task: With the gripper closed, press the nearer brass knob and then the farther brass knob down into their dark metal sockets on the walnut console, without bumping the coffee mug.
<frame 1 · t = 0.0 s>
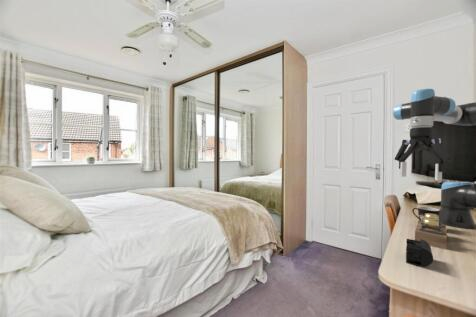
hand: (419, 178, 94), 28 cm above the table, tool pointing down, fingers open, 13 cm apart
knob 2: (431, 217, 104), point 9 cm above the table, slide at 0.0 cm
end cap: (418, 261, 80), on the table
knob 1: (431, 222, 96), point 9 cm above the table, slide at 0.0 cm
coffee mug: (425, 227, 117), on the table
console: (430, 238, 100), on the table
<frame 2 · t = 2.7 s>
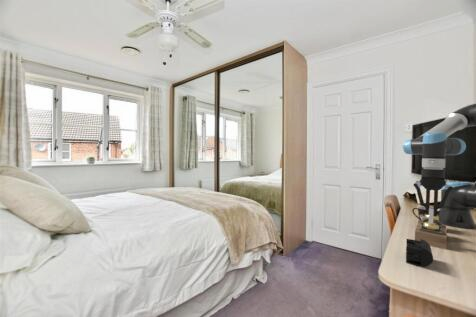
hand: (430, 223, 96), 8 cm above the table, tool pointing down, fingers closed
knob 1: (430, 226, 96), point 7 cm above the table, slide at 1.7 cm, touching gripper
everything else where it was.
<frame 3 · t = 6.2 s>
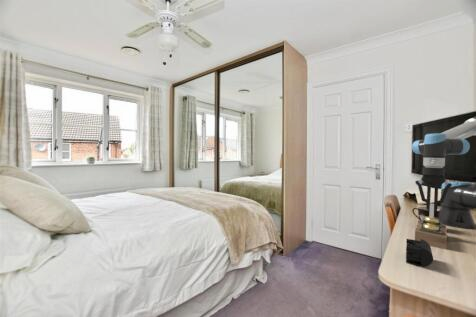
hand: (431, 217, 104), 9 cm above the table, tool pointing down, fingers closed
knob 2: (431, 220, 104), point 7 cm above the table, slide at 1.5 cm, touching gripper
knob 1: (430, 228, 96), point 6 cm above the table, slide at 2.3 cm
everything else where it was.
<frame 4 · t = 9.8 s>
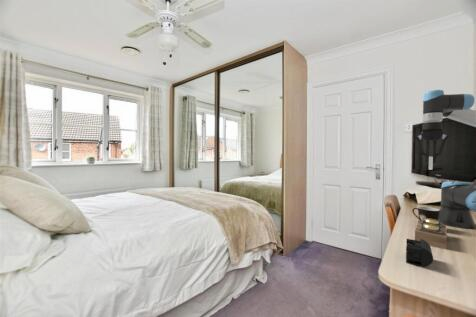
hand: (430, 169, 112), 30 cm above the table, tool pointing down, fingers closed
knob 2: (431, 222, 104), point 6 cm above the table, slide at 2.3 cm
everything else where it was.
at the end: knob 1 slide at 2.3 cm; knob 2 slide at 2.3 cm; coffee mug moved 0.2 cm from its start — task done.
